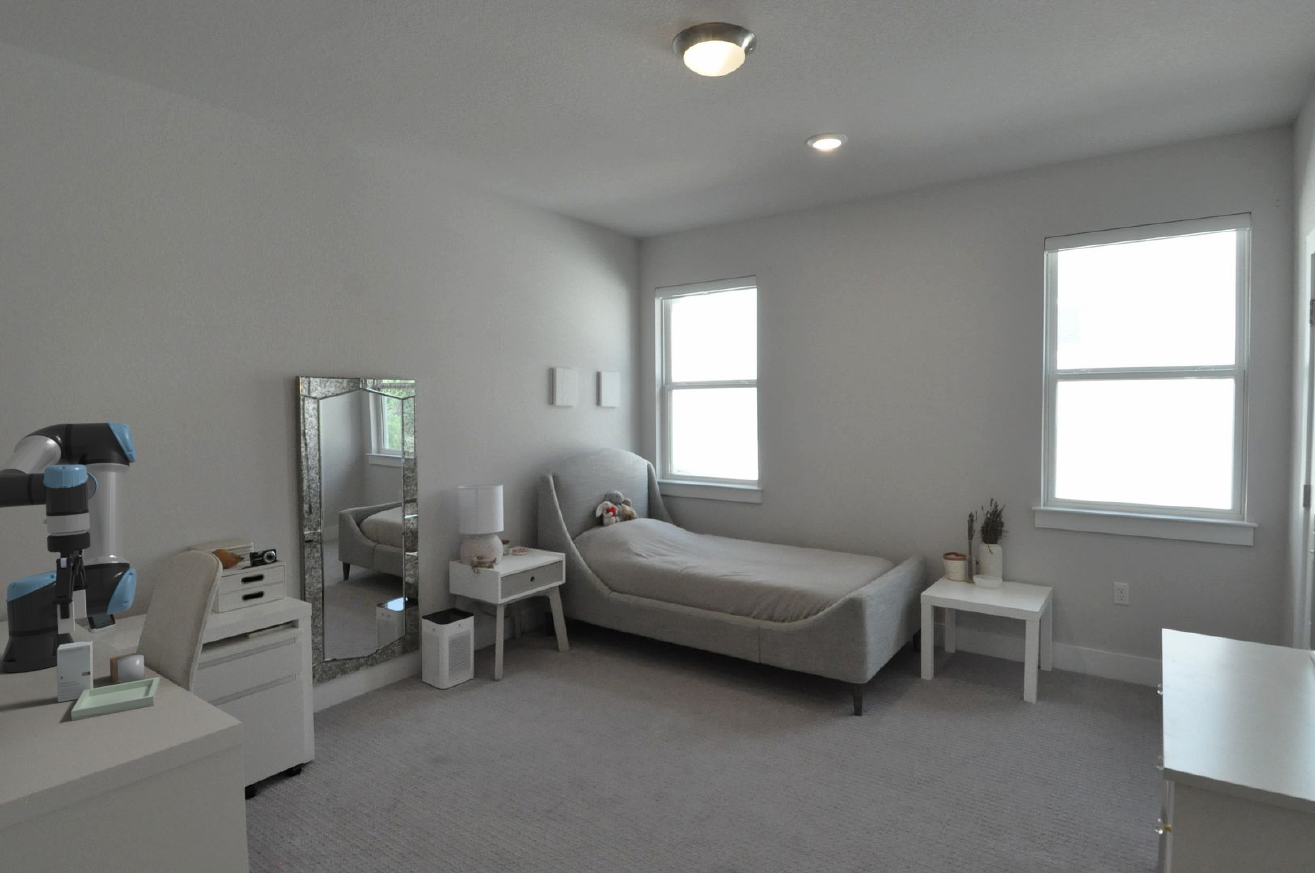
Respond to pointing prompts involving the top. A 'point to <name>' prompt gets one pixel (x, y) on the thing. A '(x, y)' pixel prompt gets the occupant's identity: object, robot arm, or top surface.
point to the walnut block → (116, 666)
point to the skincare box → (74, 669)
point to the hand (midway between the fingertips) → (73, 625)
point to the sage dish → (116, 698)
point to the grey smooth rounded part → (131, 669)
